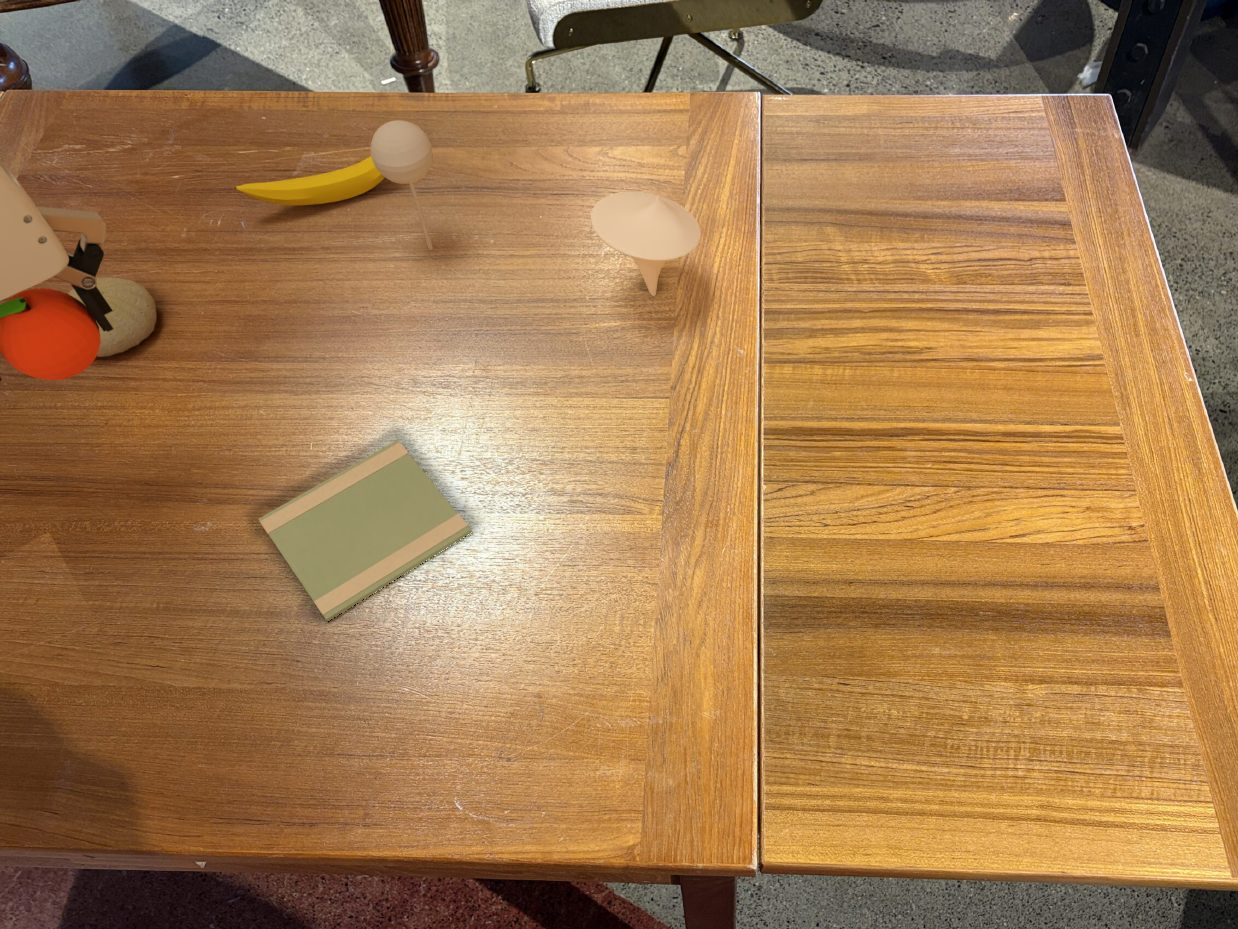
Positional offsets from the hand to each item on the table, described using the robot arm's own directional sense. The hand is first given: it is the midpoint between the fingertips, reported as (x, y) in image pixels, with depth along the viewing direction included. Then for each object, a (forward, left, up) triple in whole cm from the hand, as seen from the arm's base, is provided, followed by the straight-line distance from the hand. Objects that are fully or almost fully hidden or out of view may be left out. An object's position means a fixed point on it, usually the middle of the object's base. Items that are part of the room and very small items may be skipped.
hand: (48, 346), depth 78 cm
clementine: (0, 0, -3) cm, 3 cm away
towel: (+13, -17, -17) cm, 27 cm away
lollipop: (+36, +11, -17) cm, 41 cm away
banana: (+32, +25, -17) cm, 44 cm away
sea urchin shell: (+5, +21, -17) cm, 27 cm away
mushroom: (+50, -10, -17) cm, 54 cm away
